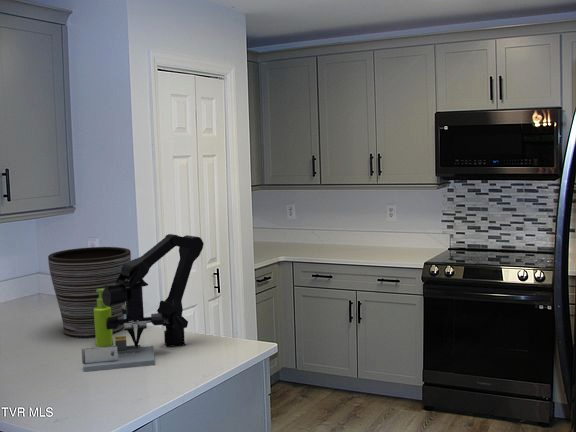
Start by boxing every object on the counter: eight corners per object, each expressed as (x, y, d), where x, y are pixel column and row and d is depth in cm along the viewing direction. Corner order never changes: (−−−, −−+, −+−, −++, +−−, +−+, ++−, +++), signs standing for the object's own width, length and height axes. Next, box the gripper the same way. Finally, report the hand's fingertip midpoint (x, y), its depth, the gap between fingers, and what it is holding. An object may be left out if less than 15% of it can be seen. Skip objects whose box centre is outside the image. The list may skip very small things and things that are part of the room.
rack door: (117, 359, 216) (117, 345, 215) (117, 361, 214) (117, 347, 213) (86, 362, 213) (85, 348, 213) (85, 364, 211) (85, 350, 211)
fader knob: (126, 348, 227) (126, 335, 226) (126, 351, 223) (126, 338, 223) (116, 349, 226) (115, 336, 225) (115, 352, 223) (115, 339, 222)
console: (153, 350, 230) (152, 332, 229) (154, 364, 215) (154, 345, 214) (84, 356, 225) (83, 338, 224) (81, 371, 209) (80, 352, 209)
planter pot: (91, 345, 237) (86, 262, 233) (35, 334, 252) (30, 256, 249) (150, 325, 262) (147, 249, 259) (96, 316, 278) (92, 245, 275)
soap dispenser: (111, 347, 234) (107, 291, 232) (93, 346, 236) (89, 291, 234) (118, 342, 240) (115, 287, 238) (101, 341, 242) (97, 287, 239)
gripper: (161, 293, 234) (163, 336, 236) (106, 297, 230) (108, 341, 231) (162, 300, 223) (164, 346, 225) (105, 304, 219) (107, 351, 220)
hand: (136, 345), depth 226 cm, fingers closed
